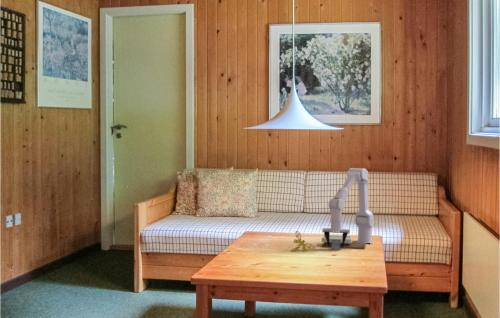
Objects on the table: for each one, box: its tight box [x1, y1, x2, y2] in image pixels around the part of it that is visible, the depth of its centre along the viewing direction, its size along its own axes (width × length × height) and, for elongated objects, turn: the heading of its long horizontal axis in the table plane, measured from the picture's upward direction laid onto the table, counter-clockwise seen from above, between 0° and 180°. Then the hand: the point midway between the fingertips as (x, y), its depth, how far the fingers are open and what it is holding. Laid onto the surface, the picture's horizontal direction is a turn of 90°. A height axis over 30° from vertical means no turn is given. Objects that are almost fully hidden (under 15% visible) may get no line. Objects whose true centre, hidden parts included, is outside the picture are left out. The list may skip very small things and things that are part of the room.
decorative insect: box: [290, 230, 316, 252], centre depth 287 cm, size 13×3×10 cm
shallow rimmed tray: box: [321, 234, 354, 245], centre depth 302 cm, size 10×16×3 cm, turn 76°
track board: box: [321, 242, 367, 250], centre depth 301 cm, size 12×23×1 cm, turn 76°
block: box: [331, 239, 341, 251], centre depth 292 cm, size 4×4×5 cm
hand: (335, 246), depth 292 cm, fingers open, 7 cm apart
